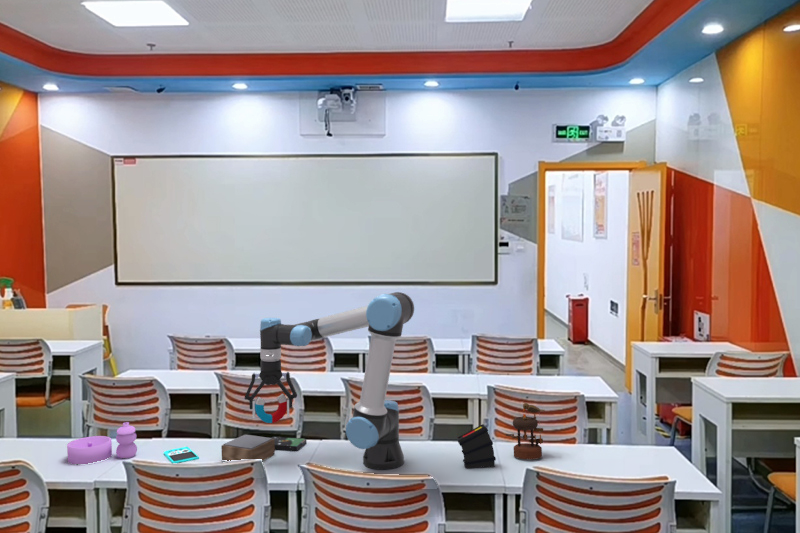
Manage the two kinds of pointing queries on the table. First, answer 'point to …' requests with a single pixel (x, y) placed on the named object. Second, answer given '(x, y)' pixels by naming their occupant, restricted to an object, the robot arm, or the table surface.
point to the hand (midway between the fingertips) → (271, 417)
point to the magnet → (276, 415)
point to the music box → (526, 424)
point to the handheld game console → (180, 455)
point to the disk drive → (289, 443)
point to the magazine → (477, 448)
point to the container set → (102, 446)
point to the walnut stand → (248, 448)
